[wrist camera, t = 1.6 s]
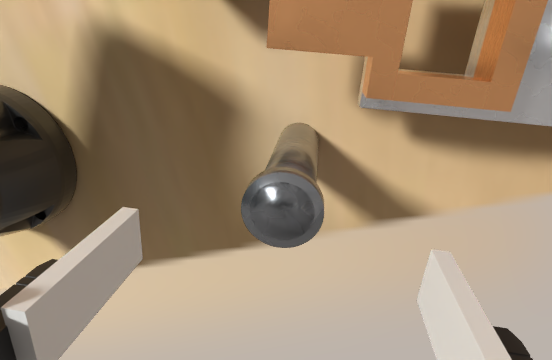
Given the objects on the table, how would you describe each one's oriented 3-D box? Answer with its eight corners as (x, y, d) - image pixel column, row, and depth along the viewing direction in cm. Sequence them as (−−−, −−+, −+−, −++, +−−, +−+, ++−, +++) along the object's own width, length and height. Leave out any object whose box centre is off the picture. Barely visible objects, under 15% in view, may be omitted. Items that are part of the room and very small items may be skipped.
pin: (272, 162, 33) (239, 242, 20) (276, 114, 32) (242, 168, 19) (320, 168, 33) (318, 252, 20) (327, 120, 31) (329, 178, 18)
